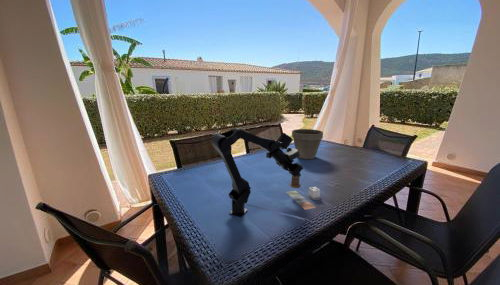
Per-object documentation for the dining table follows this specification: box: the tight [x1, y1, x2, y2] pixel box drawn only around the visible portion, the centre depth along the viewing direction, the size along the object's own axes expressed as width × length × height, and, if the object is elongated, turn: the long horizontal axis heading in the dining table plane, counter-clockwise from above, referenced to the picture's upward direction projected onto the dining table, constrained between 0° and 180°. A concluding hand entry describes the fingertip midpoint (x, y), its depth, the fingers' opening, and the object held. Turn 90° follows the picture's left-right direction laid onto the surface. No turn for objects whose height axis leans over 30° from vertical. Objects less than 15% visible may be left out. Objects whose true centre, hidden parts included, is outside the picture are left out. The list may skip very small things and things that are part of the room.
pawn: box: [289, 175, 301, 189], centre depth 116 cm, size 6×6×13 cm
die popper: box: [306, 186, 322, 201], centre depth 116 cm, size 7×7×5 cm
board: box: [285, 190, 316, 211], centre depth 114 cm, size 20×9×1 cm, turn 19°
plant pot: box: [291, 128, 324, 160], centre depth 182 cm, size 25×25×22 cm
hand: (298, 174), depth 116 cm, fingers closed on pawn, 4 cm apart
